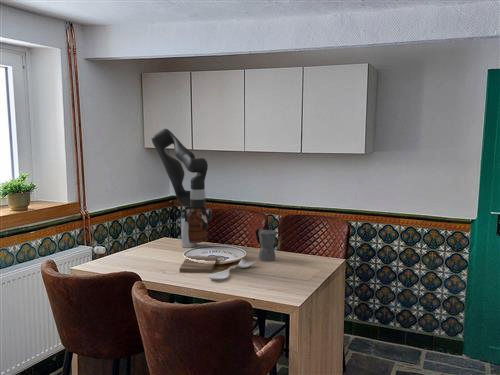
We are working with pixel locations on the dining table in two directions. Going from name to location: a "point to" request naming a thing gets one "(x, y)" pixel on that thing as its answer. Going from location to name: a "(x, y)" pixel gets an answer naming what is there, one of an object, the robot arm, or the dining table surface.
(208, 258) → the walnut board
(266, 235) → the coffeepot
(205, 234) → the wooden figurine
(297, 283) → the dining table surface
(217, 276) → the spoon
